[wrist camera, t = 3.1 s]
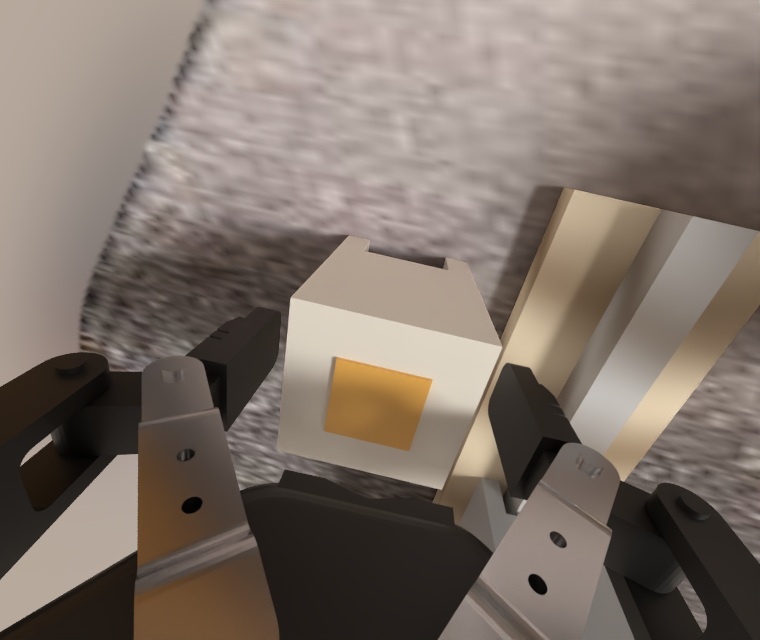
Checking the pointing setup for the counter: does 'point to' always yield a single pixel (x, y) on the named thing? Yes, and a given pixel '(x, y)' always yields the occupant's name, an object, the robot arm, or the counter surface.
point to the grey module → (490, 524)
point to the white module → (385, 364)
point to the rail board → (572, 315)
